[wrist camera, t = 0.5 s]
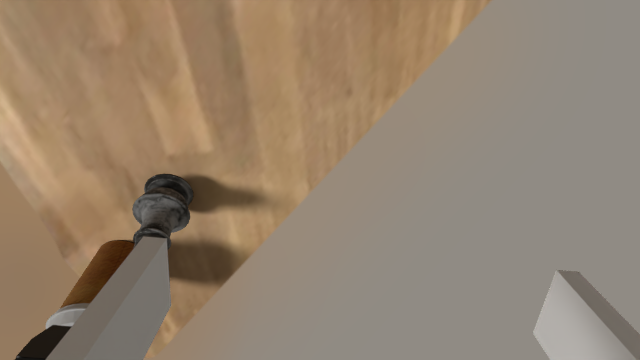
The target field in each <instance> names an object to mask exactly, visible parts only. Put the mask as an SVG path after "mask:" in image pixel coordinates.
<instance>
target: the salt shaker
mask: <svg viewBox="0 0 640 360" xmlns="http://www.w3.org/2000/svg"><path fill="white" fill-rule="evenodd" d="M144 190H145V194H143V195H142V196H141V197H139V198H138V199H137V200H136V201H135V203H134V204H133V209H132V210H133V215H134V217H135V218H136V220H137V221H138V222H139V223H140V224H141V227H140V230H138V231H137V232H136V233H135V234H134V237H133V240H134V243H135V245H134V248H135V246H136V245H137V244H138V243H139V241H140V240H141V239H142V238H143V237H156V238H167V250H168V249H169V248H170V246H171V240H170V235H171V233H172V232H176V231H179V230H181V229H183V228H184V227H186V225H187V224H188V223H189V220H190V212H189V210H188V205H189V204H190V202H191V201H192V198H193V191H192V188H191V186H190V185H189V184H188V183H187V182H186V181H185V180H183V179H182V178H180V177H177V176H174V175H171V174H159V175H155V176H153V177H151V178H150V179H149V180H148V181H147V182H146V184H145V188H144ZM134 248H133V249H134Z"/></svg>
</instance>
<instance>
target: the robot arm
mask: <svg viewBox="0 0 640 360" xmlns="http://www.w3.org/2000/svg"><path fill="white" fill-rule="evenodd" d="M170 306H171V297H170V281H169V265H168V250H167V238H156V237H143V238H142V239H141V240H140V241H139V243H138V244H137V245H136V246H135V248H134V249H133V250H132V252H131V253H130V254H129V255H128V257H127V258H126V259H125V260H124V262H123V263H122V264H121V265H120V267H119V268H118V269H117V270H116V272H115V273H114V274H113V275H112V277H111V278H110V279H109V280H108V282H107V283H106V284H105V285H104V287H103V288H102V289H101V291H100V292H99V293H98V294H97V296H96V297H95V298H94V299H93V301H92V302H91V303H90V304H89V306H88V307H87V308H86V309H85V311H84V312H83V313H82V314H81V316H80V317H79V318H78V319H77V321H76V322H75V323H74V324H73V326H61V325H52V326H50V327H49V328H47V329H46V330H44V331H43V332H42V333H40V334H38V335H37V336H35V337H34V338H33V339H31V340H30V342H29V343H28V344H27V345H26V346H25V347H24V348H23V350H22V351H21V352H20V353H19V354H18V355H17V357H16V359H15V360H143V359H144V357H145V355H146V353H147V351H148V349H149V347H150V345H151V343H152V341H153V339H154V337H155V335H156V333H157V332H158V330H159V328H160V326H161V324H162V322H163V320H164V318H165V316H166V314H167V312H168V310H169V308H170ZM533 334H534V335H535V337H536V338H537V340H538V341H539V343H540V345H541V346H542V348H543V349H544V351H545V352H546V354H547V355H548V357H549V358H550V360H640V334H639V333H638V332H637V331H636V330H635V329H634V328H633V327H632V326H631V325H630V324H629V323H628V322H627V321H626V320H625V319H624V318H623V317H622V316H621V315H620V314H619V313H618V312H617V311H616V310H615V309H614V308H613V307H612V306H611V305H610V303H608V301H606V299H605V298H604V297H603V296H602V295H601V294H600V293H599V292H598V291H597V290H596V289H595V288H594V287H593V286H592V285H591V284H590V283H589V282H588V281H587V280H586V279H585V278H584V277H583V276H582V275H581V274H580V273H579V272H575V271H563V270H557V271H556V273H555V276H554V278H553V281H552V284H551V286H550V289H549V292H548V294H547V297H546V300H545V303H544V305H543V308H542V310H541V313H540V316H539V318H538V321H537V324H536V326H535V329H534V332H533Z"/></svg>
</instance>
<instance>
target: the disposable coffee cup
mask: <svg viewBox="0 0 640 360" xmlns="http://www.w3.org/2000/svg"><path fill="white" fill-rule="evenodd" d="M134 245H135V244H134V243H131V242H127V241H111V242H107V243H105V244H104V245H102V246H101V247H100V249H99V250H98V252H97V253H96V255H95V256H94V258H93V259H92V261H91V262H90V264H89V265H88V267H87V268H86V270H85V271H84V273H83V274H82V276H81V277H80V279H79V280H78V282H77V283H76V285H75V286H74V288H73V290H72V291H71V292H70V294H69V296H68V297H67V298H66V300H65V301H64V303H63V305H62V306H61V308H60V309H59V310H58V311H57V312H56V313H55V314H53V315H52V316H51V317H50V318H49V319H48V321H47V323H46V329H47V328H49V327H50V326H52V325H61V326H73V324H74V323H75V322H76V321H77V319H78V318H79V317H80V316H81V314H82V313H83V312H84V311H85V309H86V308H87V307H88V306H89V304H90V303H91V302H92V301H93V299H94V298H95V297H96V296H97V294H98V293H99V292H100V291H101V289H102V288H103V287H104V285H105V284H106V283H107V282H108V280H109V279H110V278H111V277H112V275H113V274H114V273H115V272H116V270H117V269H118V268H119V267H120V265H121V264H122V263H123V262H124V260H125V259H126V258H127V257H128V255H129V254H130V253H131V252H132V250H133V248H134Z"/></svg>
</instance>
